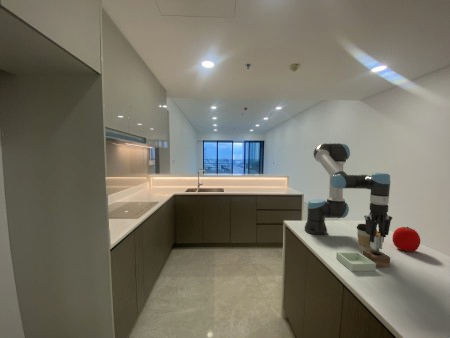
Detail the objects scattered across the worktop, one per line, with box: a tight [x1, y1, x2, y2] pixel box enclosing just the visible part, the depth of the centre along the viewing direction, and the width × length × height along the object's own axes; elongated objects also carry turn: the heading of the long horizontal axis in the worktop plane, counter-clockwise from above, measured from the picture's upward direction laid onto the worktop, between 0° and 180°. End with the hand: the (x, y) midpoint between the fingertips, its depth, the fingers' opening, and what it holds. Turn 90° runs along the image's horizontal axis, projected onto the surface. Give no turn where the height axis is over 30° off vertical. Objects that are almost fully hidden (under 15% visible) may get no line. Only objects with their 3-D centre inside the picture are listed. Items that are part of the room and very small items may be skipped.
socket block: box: [362, 250, 391, 268], centre depth 103 cm, size 8×8×5 cm
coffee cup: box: [356, 223, 378, 253], centre depth 115 cm, size 10×10×15 cm
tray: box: [335, 251, 377, 272], centre depth 101 cm, size 12×12×4 cm
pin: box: [372, 230, 381, 256], centre depth 103 cm, size 3×3×15 cm
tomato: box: [392, 226, 421, 253], centre depth 118 cm, size 13×11×14 cm
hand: (376, 247), depth 103 cm, fingers closed on pin, 3 cm apart
